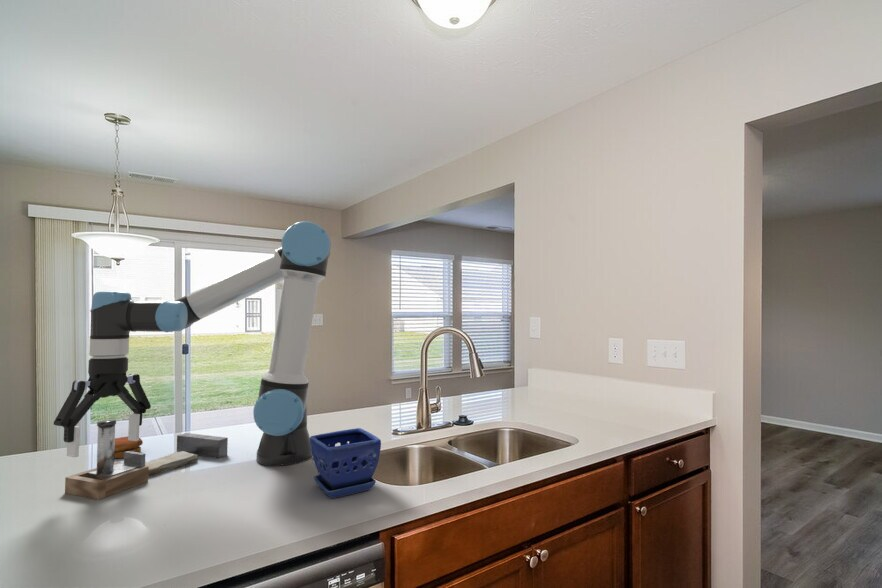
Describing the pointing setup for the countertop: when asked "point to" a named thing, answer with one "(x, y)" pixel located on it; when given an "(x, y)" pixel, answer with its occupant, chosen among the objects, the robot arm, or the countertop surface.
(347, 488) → the flower pot
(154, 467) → the stone
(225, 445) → the grey rectangular bar
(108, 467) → the ram
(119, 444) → the burger
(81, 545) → the countertop surface
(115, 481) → the frame
